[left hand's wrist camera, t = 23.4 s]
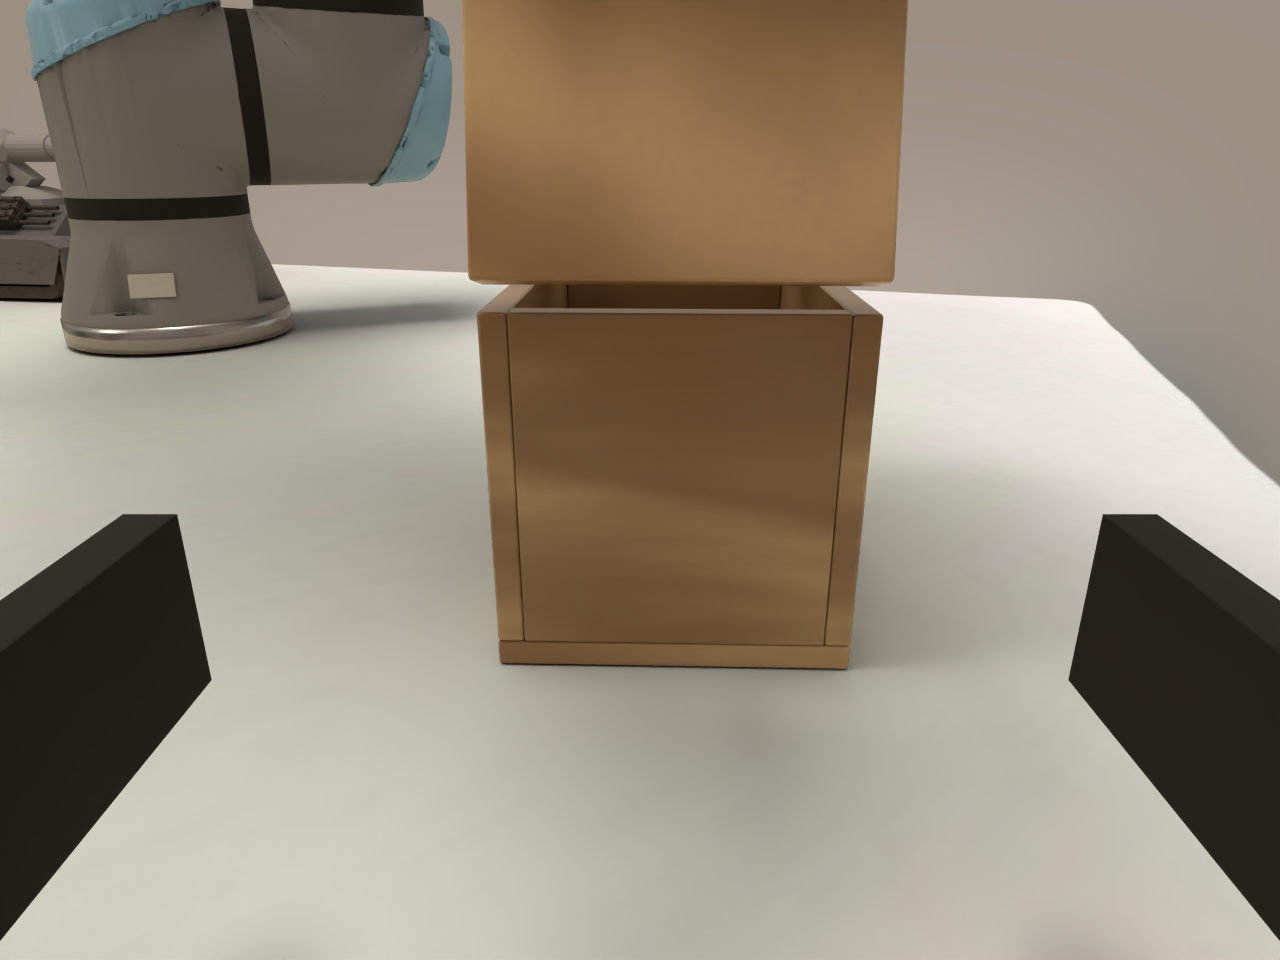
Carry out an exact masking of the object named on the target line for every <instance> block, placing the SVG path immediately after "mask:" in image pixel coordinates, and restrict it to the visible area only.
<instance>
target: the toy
mask: <svg viewBox="0 0 1280 960" xmlns="http://www.w3.org/2000/svg"><path fill="white" fill-rule="evenodd" d="M24 162H56V161H55V157H54V152H53V148H52V144H51V139H50V135H15V133H14V132H11V131H9V130H6V129H4V128H0V298H33V299H55V298H60V297H63V293H64V285H65V277H66V270H67V262H68V254H69V247H70V239H71V231H70V225H69V220H68V215H67V210H66V206H65V201H64V197H63V194H62V190H59V189H55V188H51V187H47V186H40V185H41V184H42V182H43V181H44V180H45V178H44V177H42V176H41V175H40V174H38V173H37V172H36V171H35V170H33V169H32V168H31V167H29V166H28V165H27V164H25V163H24Z"/></svg>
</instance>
